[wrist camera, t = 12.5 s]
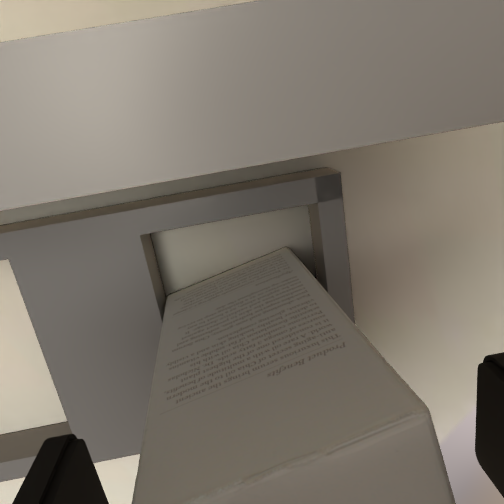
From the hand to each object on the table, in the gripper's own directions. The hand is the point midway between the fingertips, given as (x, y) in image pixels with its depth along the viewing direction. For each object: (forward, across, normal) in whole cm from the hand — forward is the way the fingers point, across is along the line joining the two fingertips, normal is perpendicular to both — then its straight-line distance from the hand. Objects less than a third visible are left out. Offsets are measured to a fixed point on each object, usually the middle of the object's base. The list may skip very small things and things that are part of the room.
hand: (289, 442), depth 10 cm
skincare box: (+10, +1, +1) cm, 10 cm away
